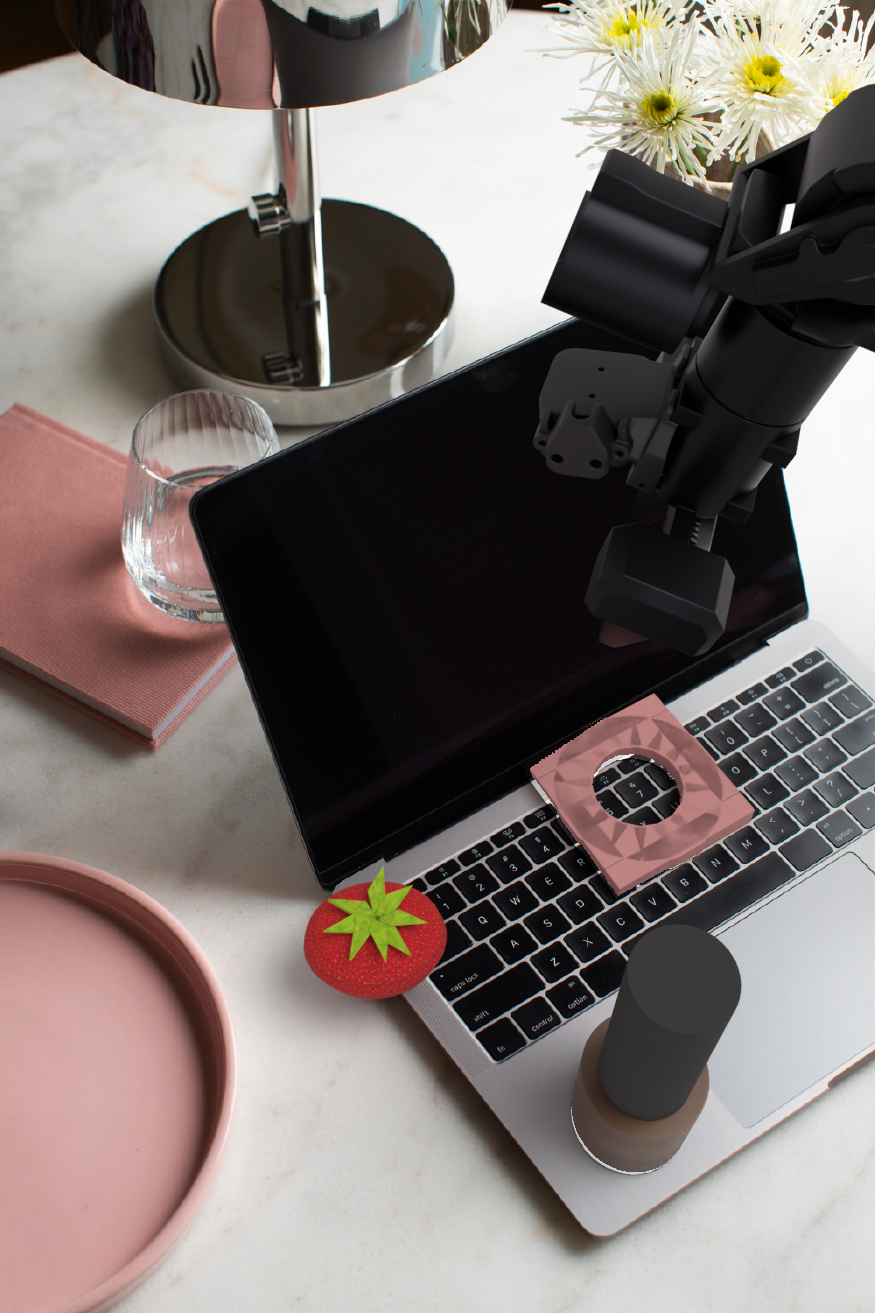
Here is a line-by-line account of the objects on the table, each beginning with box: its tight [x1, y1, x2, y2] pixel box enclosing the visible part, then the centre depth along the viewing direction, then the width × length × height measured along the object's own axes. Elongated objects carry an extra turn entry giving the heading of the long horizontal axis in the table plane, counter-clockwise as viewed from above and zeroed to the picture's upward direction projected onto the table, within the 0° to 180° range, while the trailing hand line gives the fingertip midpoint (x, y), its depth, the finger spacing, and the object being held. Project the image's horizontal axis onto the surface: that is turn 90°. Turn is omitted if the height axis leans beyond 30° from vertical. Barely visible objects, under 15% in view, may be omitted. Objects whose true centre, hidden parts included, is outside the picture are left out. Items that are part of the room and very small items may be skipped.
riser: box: [570, 1016, 710, 1172], centre depth 56 cm, size 6×6×7 cm
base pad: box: [530, 693, 756, 896], centre depth 69 cm, size 10×10×2 cm
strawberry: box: [302, 865, 448, 1000], centre depth 60 cm, size 6×8×10 cm
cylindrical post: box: [598, 923, 742, 1121], centre depth 48 cm, size 4×4×12 cm
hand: (623, 579), depth 63 cm, fingers open, 9 cm apart
